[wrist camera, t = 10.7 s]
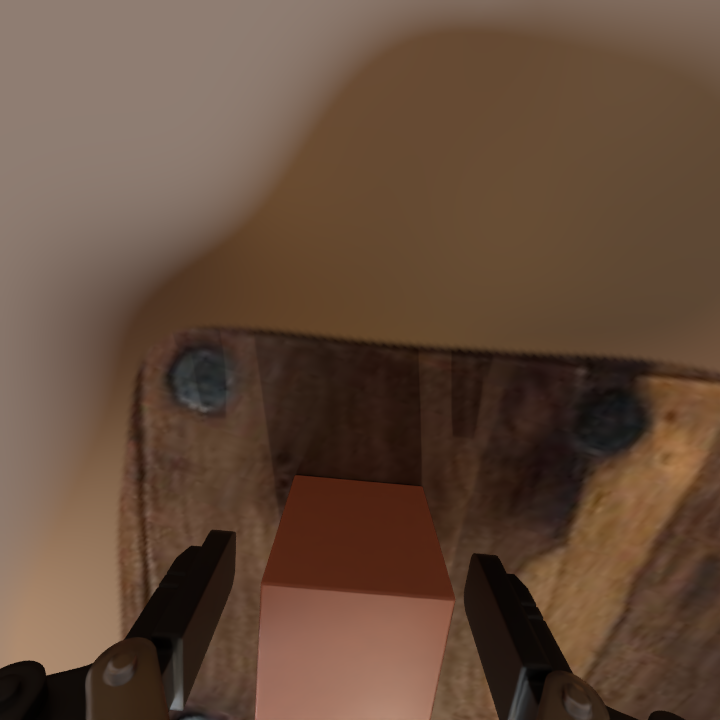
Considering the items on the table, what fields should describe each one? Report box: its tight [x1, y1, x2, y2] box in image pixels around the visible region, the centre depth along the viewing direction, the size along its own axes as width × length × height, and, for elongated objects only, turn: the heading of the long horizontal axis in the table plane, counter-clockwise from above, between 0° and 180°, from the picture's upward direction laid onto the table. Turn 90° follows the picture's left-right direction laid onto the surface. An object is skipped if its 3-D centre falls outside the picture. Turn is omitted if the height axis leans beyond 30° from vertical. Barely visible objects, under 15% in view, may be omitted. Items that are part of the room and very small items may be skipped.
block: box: [255, 475, 455, 720], centre depth 11 cm, size 4×4×4 cm
